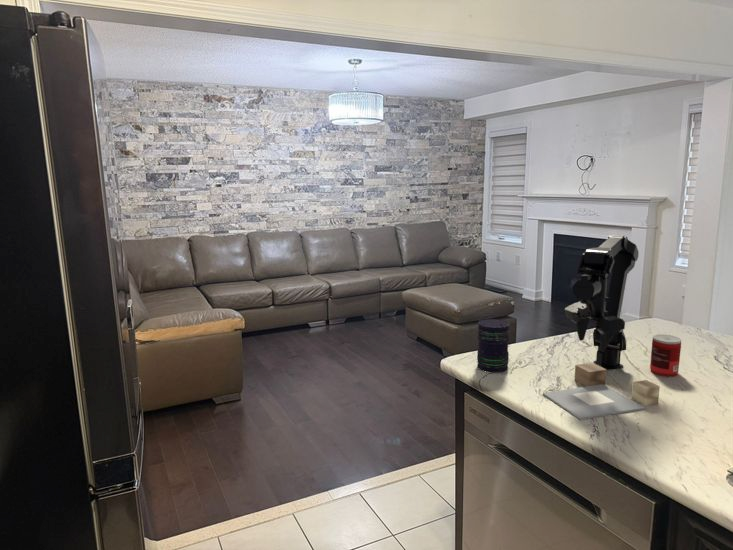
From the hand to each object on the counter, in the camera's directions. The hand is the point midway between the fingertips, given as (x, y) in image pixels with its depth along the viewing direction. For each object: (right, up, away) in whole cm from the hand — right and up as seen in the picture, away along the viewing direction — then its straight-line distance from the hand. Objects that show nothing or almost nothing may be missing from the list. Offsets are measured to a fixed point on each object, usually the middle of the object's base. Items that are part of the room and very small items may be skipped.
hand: (591, 345), depth 148 cm
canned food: (+26, -10, +9) cm, 30 cm away
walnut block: (0, -12, +2) cm, 12 cm away
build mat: (-4, -14, -10) cm, 18 cm away
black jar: (-25, -10, +16) cm, 31 cm away
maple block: (+10, -14, -11) cm, 20 cm away
